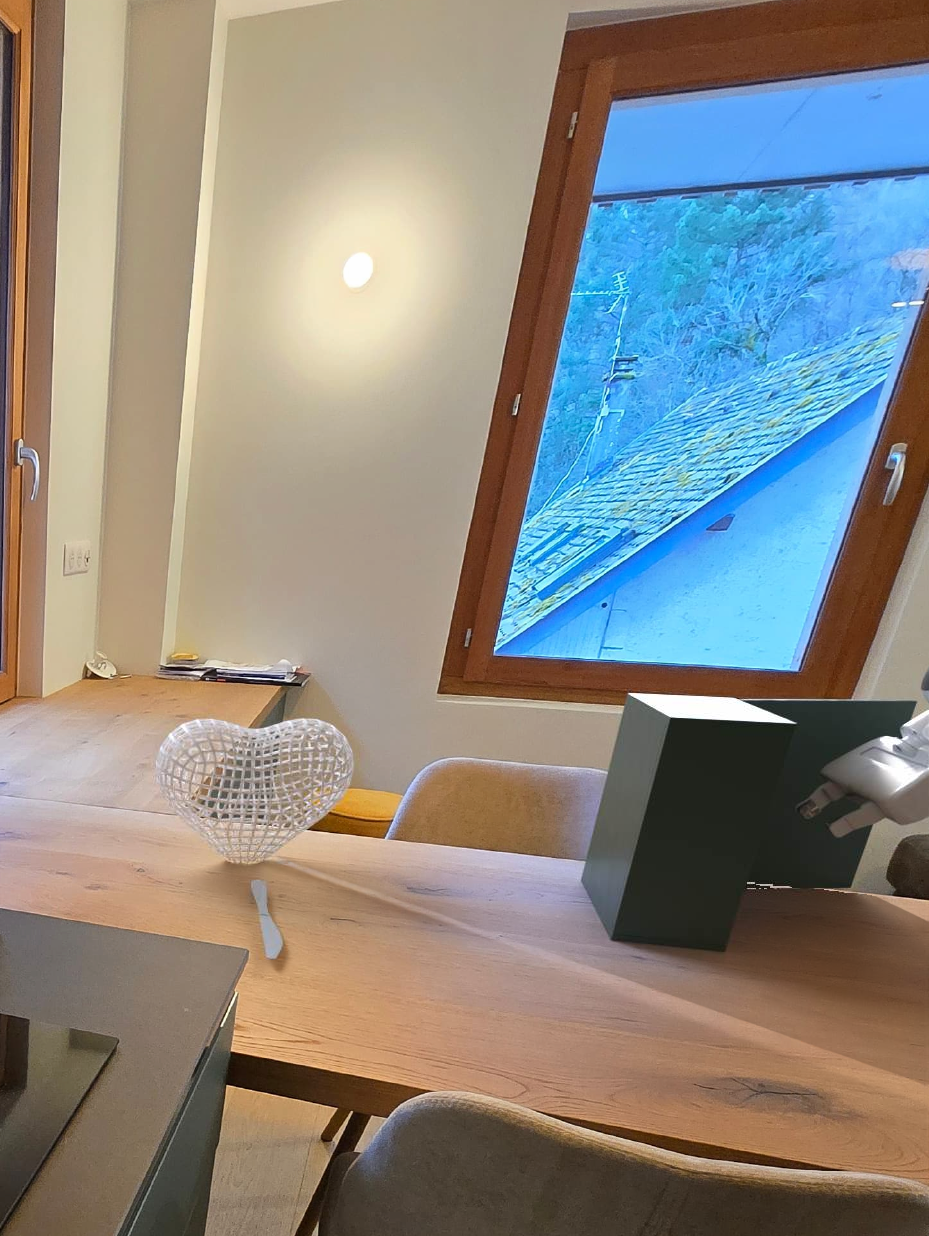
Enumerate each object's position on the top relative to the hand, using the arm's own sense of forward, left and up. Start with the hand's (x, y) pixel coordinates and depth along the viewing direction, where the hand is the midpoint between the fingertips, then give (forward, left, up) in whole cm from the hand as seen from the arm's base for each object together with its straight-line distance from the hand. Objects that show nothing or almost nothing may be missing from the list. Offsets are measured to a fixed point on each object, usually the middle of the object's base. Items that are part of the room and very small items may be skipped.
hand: (814, 822), depth 123 cm
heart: (+56, +36, -15) cm, 68 cm away
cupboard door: (+10, -16, -14) cm, 23 cm away
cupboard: (+12, +9, -15) cm, 21 cm away
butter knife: (+37, +52, -14) cm, 65 cm away
